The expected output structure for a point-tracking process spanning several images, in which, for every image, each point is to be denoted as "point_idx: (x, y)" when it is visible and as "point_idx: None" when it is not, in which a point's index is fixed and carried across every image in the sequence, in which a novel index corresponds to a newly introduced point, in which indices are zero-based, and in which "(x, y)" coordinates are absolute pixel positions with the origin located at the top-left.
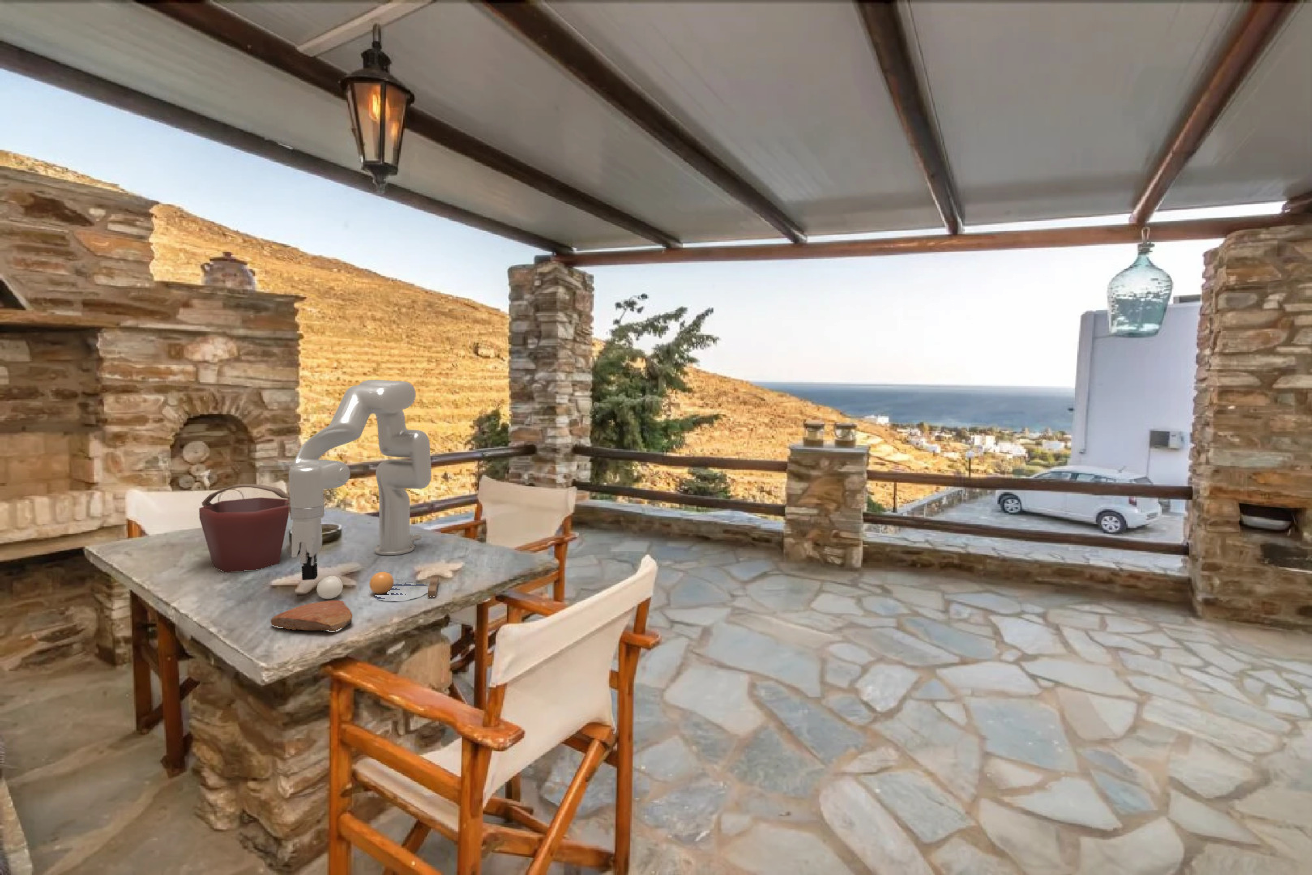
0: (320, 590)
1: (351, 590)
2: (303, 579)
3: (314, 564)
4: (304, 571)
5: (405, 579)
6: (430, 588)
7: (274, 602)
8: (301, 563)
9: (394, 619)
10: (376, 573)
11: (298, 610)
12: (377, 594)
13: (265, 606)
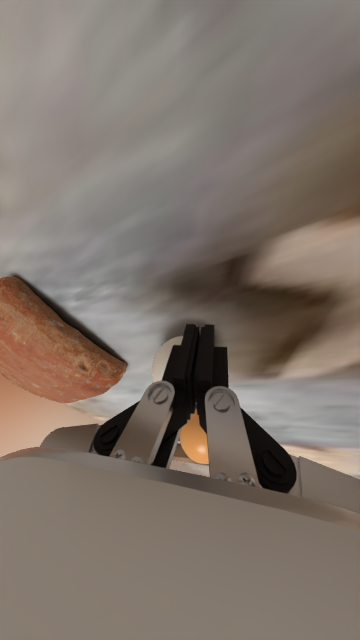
0: (154, 357)
1: (236, 374)
2: (187, 327)
3: (188, 416)
4: (167, 364)
5: (276, 434)
6: (182, 458)
7: (169, 199)
8: (59, 431)
9: (101, 418)
10: (207, 453)
11: (5, 349)
12: (195, 408)
13: (129, 181)
